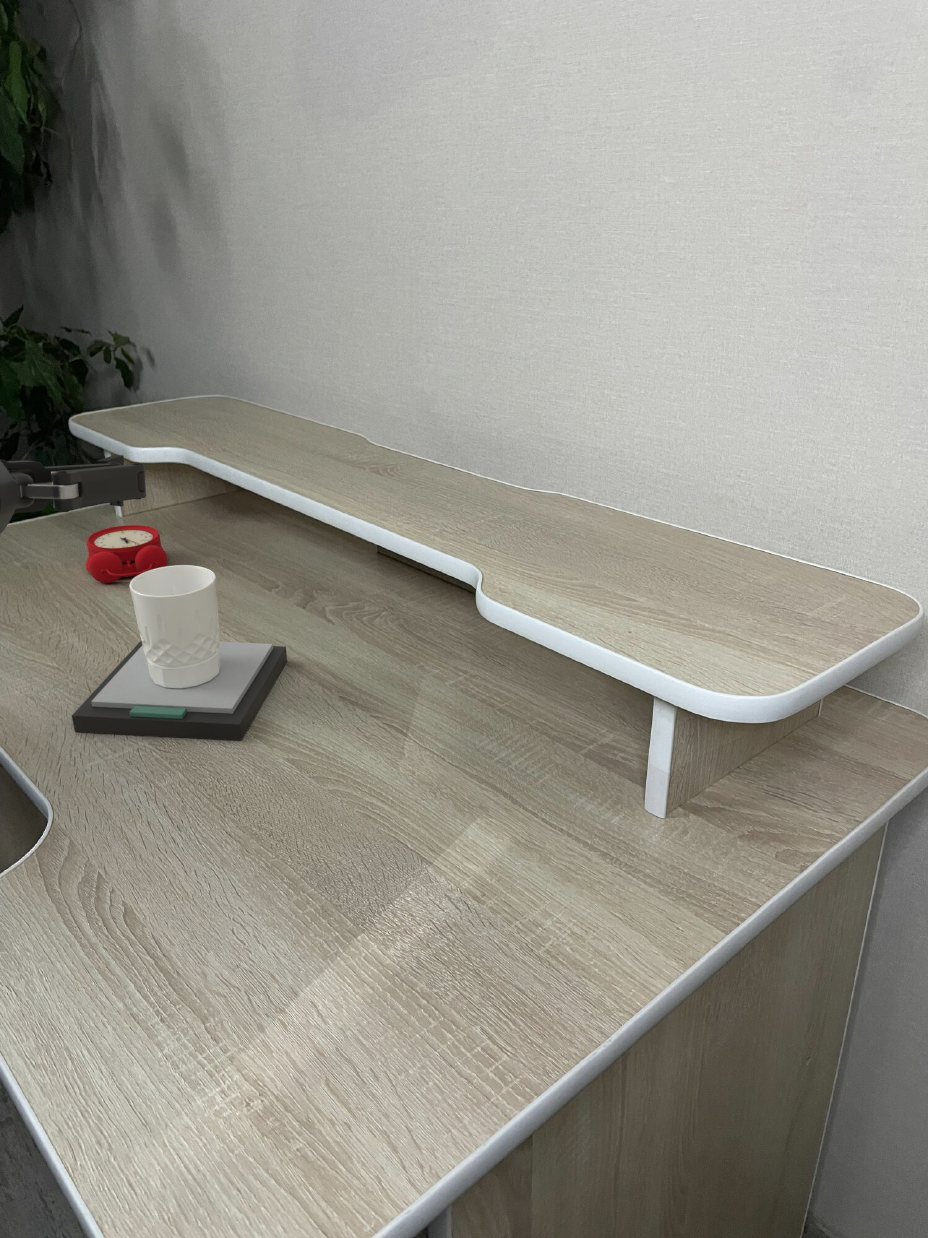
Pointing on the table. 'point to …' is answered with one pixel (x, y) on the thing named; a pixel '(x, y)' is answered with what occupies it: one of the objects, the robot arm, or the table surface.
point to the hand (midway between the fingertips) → (32, 470)
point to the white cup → (178, 624)
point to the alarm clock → (124, 552)
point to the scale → (184, 697)
